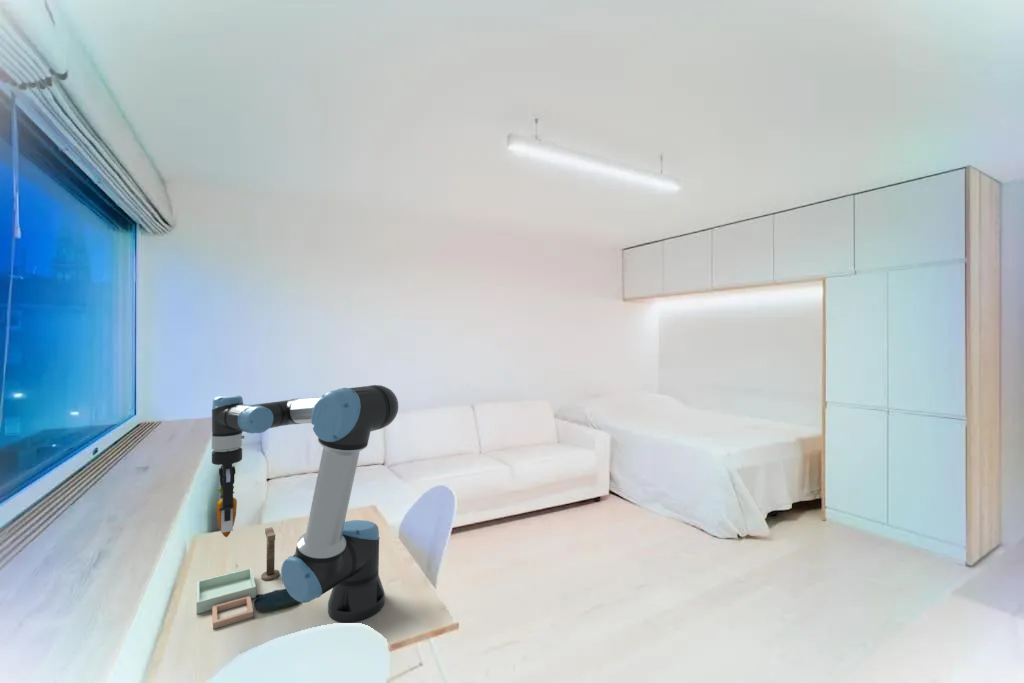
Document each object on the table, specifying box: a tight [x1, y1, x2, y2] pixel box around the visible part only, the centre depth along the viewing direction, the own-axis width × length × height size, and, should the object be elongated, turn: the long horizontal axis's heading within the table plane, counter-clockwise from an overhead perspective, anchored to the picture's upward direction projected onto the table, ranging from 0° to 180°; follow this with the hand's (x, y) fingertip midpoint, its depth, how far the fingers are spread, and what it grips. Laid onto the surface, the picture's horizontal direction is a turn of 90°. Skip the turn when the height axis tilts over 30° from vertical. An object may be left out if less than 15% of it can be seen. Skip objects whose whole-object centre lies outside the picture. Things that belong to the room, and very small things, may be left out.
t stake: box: [260, 526, 280, 582], centre depth 141 cm, size 8×5×14 cm, turn 35°
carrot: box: [216, 485, 238, 538], centre depth 130 cm, size 5×5×15 cm
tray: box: [196, 567, 257, 615], centre depth 130 cm, size 13×14×3 cm
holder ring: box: [211, 596, 254, 630], centre depth 121 cm, size 9×9×2 cm
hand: (226, 527), depth 130 cm, fingers closed on carrot, 5 cm apart
